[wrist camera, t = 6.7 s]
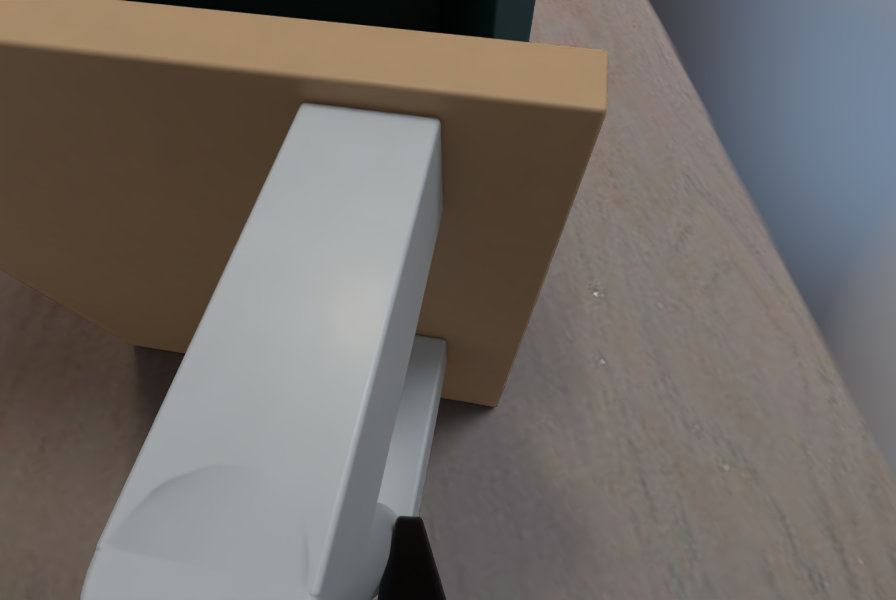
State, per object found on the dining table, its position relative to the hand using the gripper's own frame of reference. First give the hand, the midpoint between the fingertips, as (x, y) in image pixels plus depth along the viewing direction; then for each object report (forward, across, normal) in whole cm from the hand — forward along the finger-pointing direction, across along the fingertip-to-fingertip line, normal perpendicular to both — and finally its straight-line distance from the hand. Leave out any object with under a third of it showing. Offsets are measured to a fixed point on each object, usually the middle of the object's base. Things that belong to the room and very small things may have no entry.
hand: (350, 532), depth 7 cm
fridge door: (+7, +4, +3) cm, 9 cm away
